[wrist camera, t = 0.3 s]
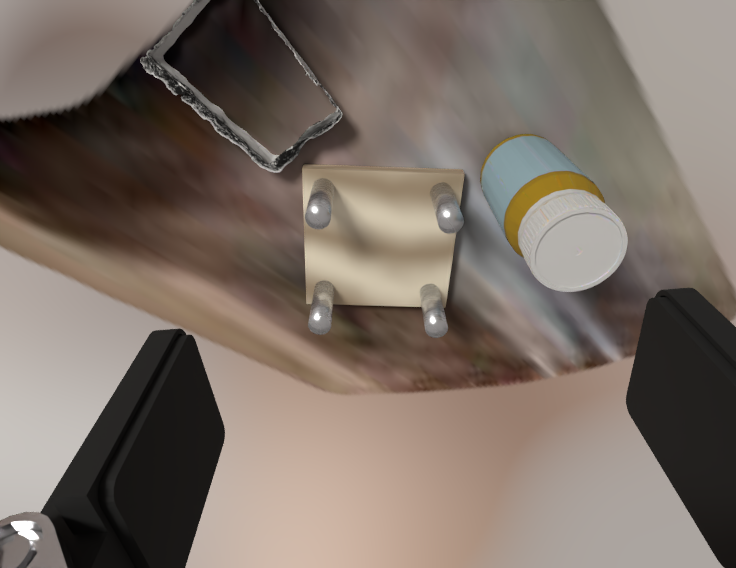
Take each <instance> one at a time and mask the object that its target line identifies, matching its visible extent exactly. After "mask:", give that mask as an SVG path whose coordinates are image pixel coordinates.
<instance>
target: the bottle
mask: <svg viewBox="0 0 736 568" xmlns="http://www.w3.org/2000/svg"><path fill="white" fill-rule="evenodd" d="M480 182H481V187H482V190H483V193H484V196H485V198H486V200H487V201H488V203H489V205H490V207H491V209H492V211H493V213H494V215H495V217H496V219H497V221H498V223H499V225H500V227H501V229H502V230H503V232H504V234H505V236H506V238H507V240H508V242H509V243H510V245H511V246H512V247H513V249H514V250H515V252H516V253H517V254H519V255H520V256H522V257H523V258H524V259H525V261H526V262H527V264H528V266H529V268H530V270H531V272H532V274H533V275H534V276H535V278H537V280H538V281H540V282H541V283H542V284H543V285H545V286H546V287H548V288H551V289H553V290H557V291H562V292H575V291H581V290H585V289H588V288H591V287H593V286H595V285H597V284H599V283H601V282H602V281H604V280H605V279H607V278H608V277H609V276H610V275H611V274H612V273H613V272H614V271H615V270H616V269H617V268H618V266H619V265H620V263H621V262H622V260H623V258H624V256H625V253H626V250H627V242H628V239H627V233H626V229H625V227H624V224H623V223H622V221H621V220H620V219H619V217H618V216H617V215H616V214H615V213H614V212H613V211H612V210H611V209H610V208H609V207H608V206H607V205H606V204H605V201H604V198H603V196H602V194H601V192H600V190H599V189H598V187H597V186H596V185H595V184H594V183H593V182H592V181H591V180H590V179H589V178H588V177H587V176H586V175H585V174H584V173H583V172H582V171H581V170H580V169H579V168H577V167H576V166H575V165H574V164H573V163H572V162H571V161H570V160H569V159H568V158H567V157H566V156H565V155H564V154H563V153H562V152H561V151H560V150H559V149H557V148H556V147H555V146H554V145H553V144H552V143H550V142H549V141H548V140H546V139H545V138H543V137H540V136H537V135H534V134H520V135H516V136H513V137H510V138H507V139H505V140H504V141H502V142H501V143H500V144H498V145H497V146H495V147H494V148H493V150H492V151H491V152H490V153H489V154H488V156H487V157H486V159H485V161H484V164H483V166H482V169H481V177H480Z"/></svg>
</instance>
